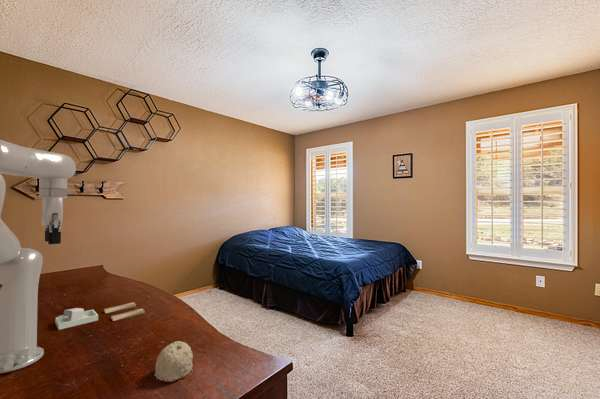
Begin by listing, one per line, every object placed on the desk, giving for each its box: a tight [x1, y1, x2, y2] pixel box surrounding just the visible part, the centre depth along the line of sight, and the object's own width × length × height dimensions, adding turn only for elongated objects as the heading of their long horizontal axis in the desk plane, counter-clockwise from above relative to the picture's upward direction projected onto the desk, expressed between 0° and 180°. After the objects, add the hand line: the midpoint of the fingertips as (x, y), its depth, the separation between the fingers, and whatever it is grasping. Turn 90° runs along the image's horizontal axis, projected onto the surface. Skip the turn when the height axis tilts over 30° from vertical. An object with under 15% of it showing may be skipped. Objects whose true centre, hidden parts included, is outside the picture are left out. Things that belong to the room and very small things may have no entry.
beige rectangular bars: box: [103, 302, 146, 322], centre depth 117 cm, size 14×11×1 cm
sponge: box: [154, 340, 194, 381], centre depth 76 cm, size 9×10×10 cm
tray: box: [54, 309, 99, 331], centre depth 108 cm, size 8×12×2 cm
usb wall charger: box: [57, 307, 85, 322], centre depth 105 cm, size 4×7×4 cm, turn 165°
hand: (52, 242), depth 102 cm, fingers open, 9 cm apart
